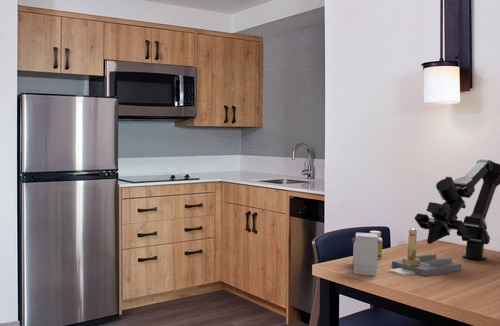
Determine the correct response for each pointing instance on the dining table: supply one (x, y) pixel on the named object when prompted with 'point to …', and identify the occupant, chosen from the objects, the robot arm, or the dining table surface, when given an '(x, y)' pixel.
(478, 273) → the dining table surface
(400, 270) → the cover
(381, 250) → the supplement bottle
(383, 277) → the dining table surface
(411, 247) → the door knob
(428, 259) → the lock plate
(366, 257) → the supplement box
